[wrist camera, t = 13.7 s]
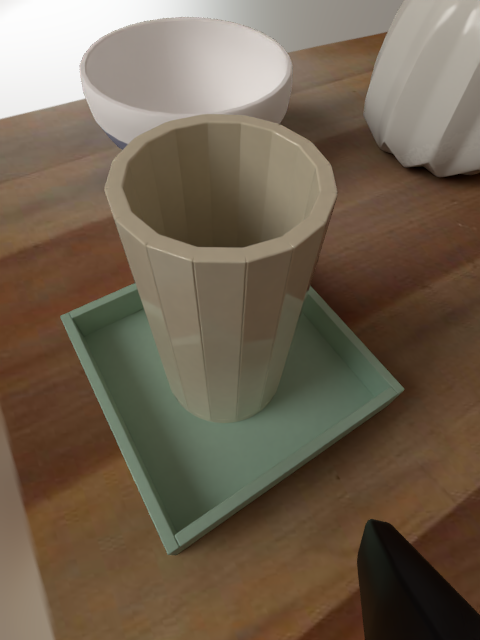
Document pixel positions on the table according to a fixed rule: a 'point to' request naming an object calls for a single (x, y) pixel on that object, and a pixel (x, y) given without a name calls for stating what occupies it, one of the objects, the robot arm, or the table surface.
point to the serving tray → (221, 438)
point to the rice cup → (222, 251)
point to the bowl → (183, 74)
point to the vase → (429, 87)
